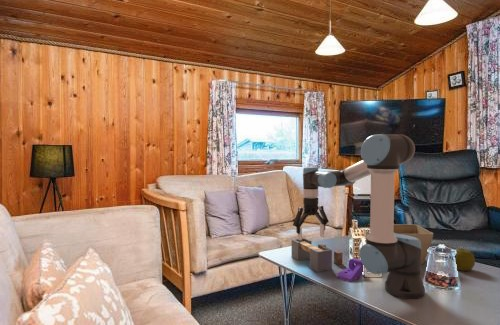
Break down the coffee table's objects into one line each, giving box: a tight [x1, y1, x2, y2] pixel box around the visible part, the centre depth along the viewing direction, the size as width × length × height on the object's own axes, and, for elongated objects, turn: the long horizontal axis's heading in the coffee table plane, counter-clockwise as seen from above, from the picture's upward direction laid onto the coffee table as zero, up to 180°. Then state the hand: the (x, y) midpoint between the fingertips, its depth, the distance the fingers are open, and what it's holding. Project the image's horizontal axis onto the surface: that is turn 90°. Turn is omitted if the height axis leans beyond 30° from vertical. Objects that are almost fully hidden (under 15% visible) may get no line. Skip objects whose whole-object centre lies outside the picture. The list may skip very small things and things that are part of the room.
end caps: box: [291, 237, 333, 273], centre depth 176 cm, size 24×8×10 cm, turn 24°
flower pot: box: [393, 223, 434, 265], centre depth 178 cm, size 19×19×17 cm
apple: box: [455, 248, 476, 272], centre depth 165 cm, size 10×10×11 cm
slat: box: [300, 241, 323, 253], centre depth 176 cm, size 18×4×2 cm, turn 24°
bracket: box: [336, 257, 363, 283], centre depth 158 cm, size 12×7×7 cm, turn 133°
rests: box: [317, 243, 344, 266], centre depth 181 cm, size 17×3×6 cm, turn 24°
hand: (311, 238), depth 175 cm, fingers open, 13 cm apart
